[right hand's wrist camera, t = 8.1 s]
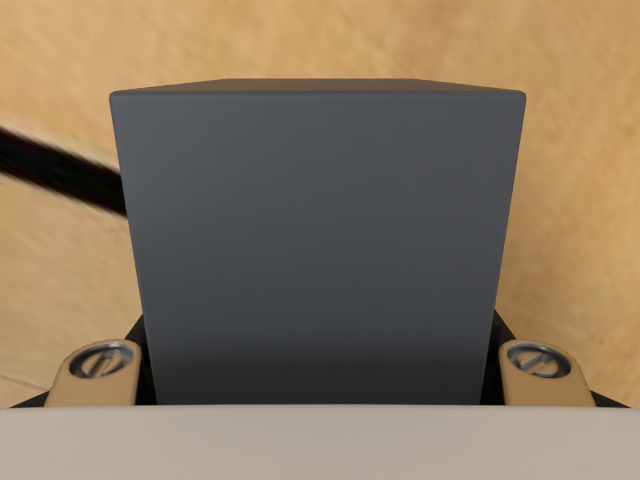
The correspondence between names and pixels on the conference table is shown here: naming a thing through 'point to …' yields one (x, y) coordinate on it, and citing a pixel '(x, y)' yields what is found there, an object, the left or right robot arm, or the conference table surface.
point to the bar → (318, 236)
